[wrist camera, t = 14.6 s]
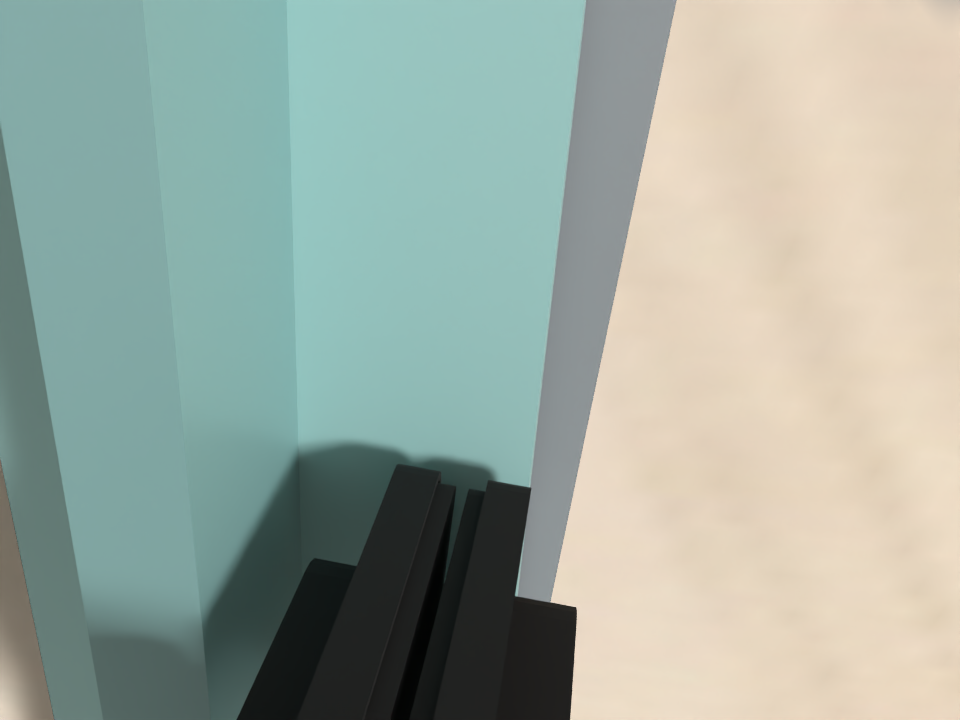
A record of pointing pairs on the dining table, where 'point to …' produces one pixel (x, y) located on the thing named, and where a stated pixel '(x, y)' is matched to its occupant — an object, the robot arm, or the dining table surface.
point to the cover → (258, 305)
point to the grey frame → (590, 253)
